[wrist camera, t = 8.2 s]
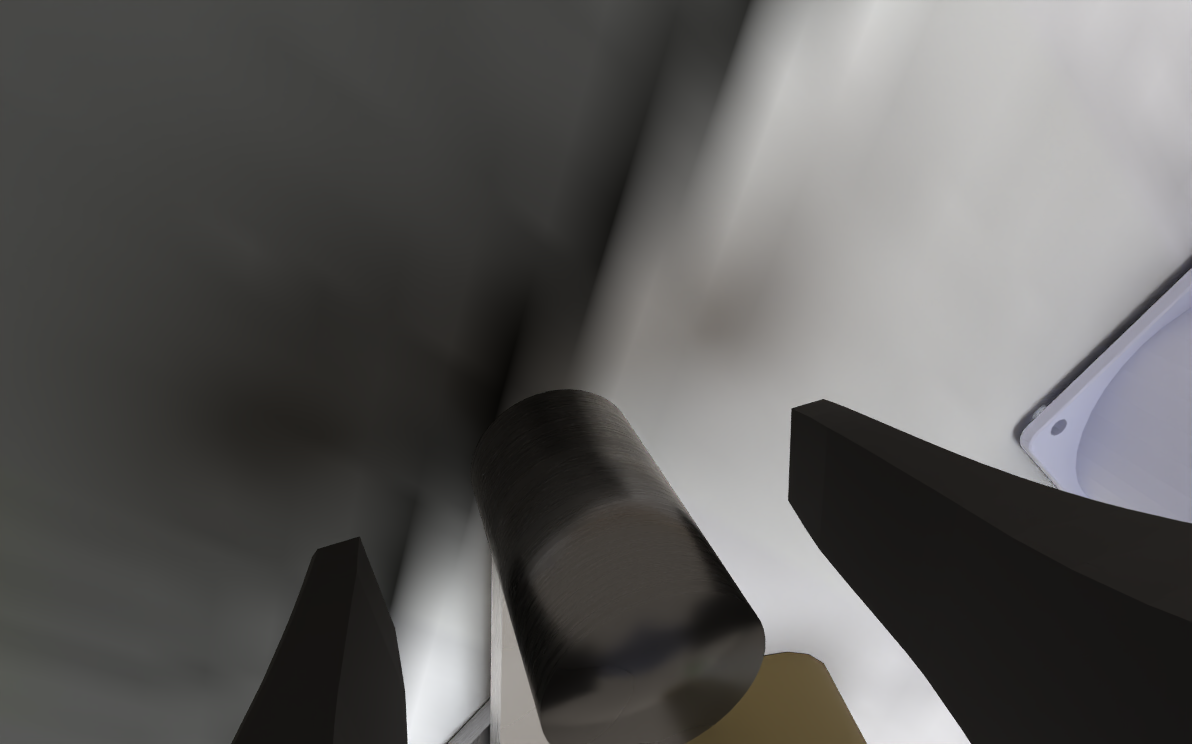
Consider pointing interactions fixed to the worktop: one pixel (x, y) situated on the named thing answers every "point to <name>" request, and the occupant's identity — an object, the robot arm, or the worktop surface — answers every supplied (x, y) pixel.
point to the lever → (601, 586)
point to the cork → (787, 708)
